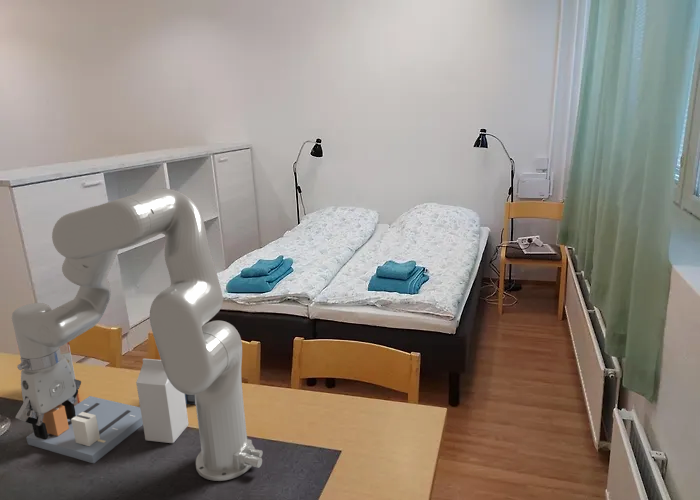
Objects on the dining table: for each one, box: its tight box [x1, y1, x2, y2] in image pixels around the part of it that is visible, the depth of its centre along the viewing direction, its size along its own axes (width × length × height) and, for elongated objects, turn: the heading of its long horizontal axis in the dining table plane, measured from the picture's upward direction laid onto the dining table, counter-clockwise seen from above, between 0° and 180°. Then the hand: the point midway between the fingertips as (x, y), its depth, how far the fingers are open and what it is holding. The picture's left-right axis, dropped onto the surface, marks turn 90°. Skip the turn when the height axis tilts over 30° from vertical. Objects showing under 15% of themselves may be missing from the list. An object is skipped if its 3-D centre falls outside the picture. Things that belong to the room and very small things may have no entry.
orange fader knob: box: [42, 405, 69, 436], centre depth 119 cm, size 4×3×6 cm
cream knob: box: [71, 412, 100, 446], centre depth 115 cm, size 4×3×6 cm
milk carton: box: [135, 358, 189, 444], centre depth 119 cm, size 7×7×19 cm
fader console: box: [25, 395, 143, 464], centre depth 123 cm, size 20×18×2 cm
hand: (56, 427), depth 119 cm, fingers open, 6 cm apart
